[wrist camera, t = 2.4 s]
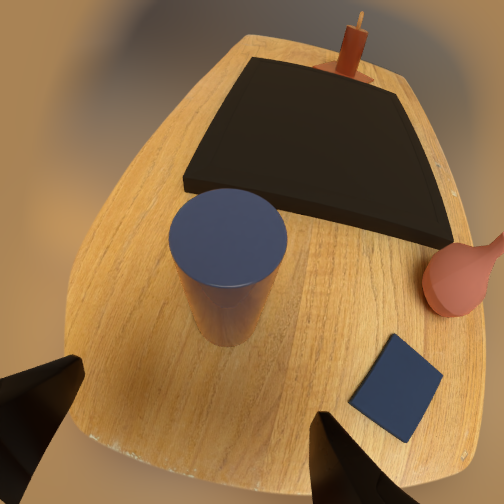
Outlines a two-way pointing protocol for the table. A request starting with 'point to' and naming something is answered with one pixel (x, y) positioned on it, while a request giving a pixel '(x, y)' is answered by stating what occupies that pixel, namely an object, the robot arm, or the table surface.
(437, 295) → the terracotta bud vase
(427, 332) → the table surface
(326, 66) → the terracotta tile
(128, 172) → the table surface
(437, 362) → the table surface
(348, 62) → the terracotta candle
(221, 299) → the blue cylinder
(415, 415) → the blue mat
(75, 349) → the table surface
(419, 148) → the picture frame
